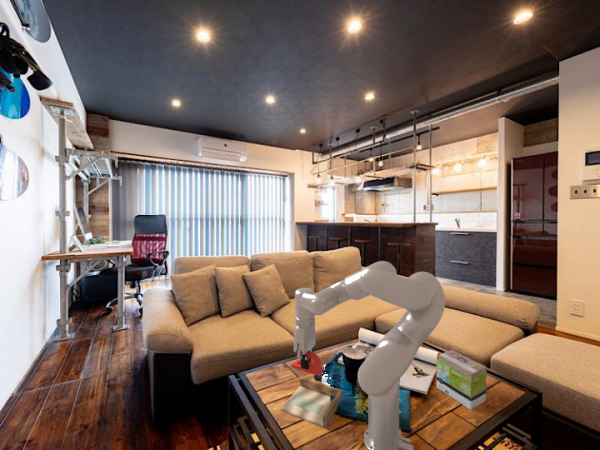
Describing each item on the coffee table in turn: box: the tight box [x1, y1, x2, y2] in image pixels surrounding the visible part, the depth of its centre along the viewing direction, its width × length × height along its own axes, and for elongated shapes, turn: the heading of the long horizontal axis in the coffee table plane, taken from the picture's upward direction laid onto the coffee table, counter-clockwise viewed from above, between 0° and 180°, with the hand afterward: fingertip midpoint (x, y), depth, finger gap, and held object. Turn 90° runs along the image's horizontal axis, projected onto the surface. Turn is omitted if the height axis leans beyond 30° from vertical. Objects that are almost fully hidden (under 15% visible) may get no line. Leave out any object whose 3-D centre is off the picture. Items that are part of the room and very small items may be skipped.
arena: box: [280, 376, 343, 430], centre depth 109 cm, size 19×16×4 cm
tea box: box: [436, 349, 488, 411], centre depth 113 cm, size 15×10×15 cm, turn 27°
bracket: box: [291, 351, 325, 377], centre depth 109 cm, size 12×4×8 cm, turn 60°
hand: (306, 366), depth 107 cm, fingers closed on bracket, 1 cm apart
